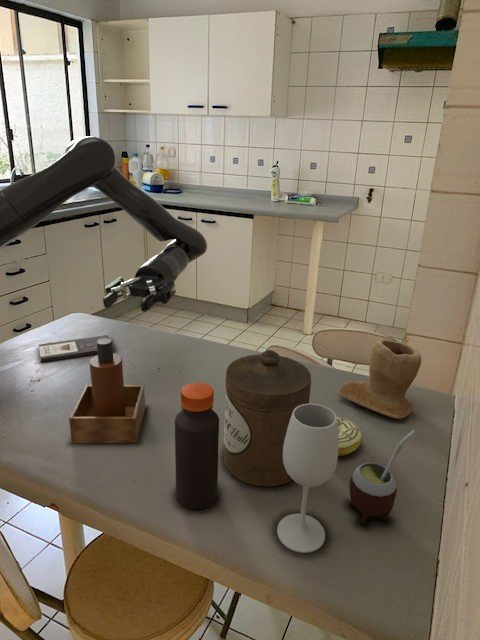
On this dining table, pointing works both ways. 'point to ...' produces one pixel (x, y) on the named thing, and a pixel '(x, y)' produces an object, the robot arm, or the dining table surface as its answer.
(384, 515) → the mate gourd
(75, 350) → the chocolate bar
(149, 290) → the robot arm
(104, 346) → the sauce bottle
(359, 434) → the decorated donut
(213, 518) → the dining table surface
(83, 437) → the wooden box
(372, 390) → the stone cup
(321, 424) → the wineglass
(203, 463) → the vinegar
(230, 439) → the wooden container
